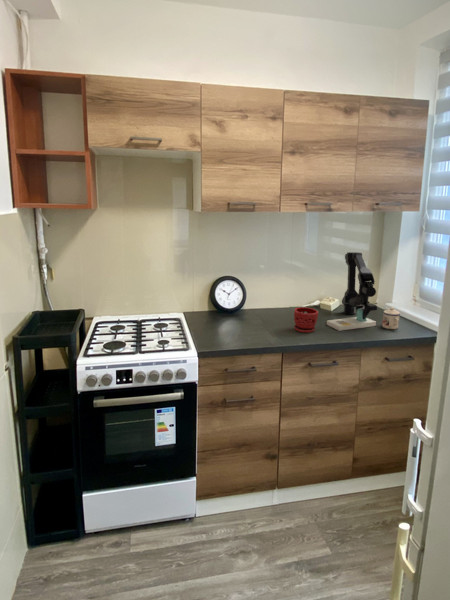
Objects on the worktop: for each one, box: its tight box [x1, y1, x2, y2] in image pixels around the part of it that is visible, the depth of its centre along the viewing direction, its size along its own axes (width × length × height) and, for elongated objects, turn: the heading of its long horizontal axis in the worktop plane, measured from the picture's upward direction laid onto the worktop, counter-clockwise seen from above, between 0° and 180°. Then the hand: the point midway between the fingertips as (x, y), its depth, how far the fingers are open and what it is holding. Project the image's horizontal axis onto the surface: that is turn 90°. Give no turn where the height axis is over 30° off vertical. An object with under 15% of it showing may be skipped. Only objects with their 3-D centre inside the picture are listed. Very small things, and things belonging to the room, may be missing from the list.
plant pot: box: [293, 306, 319, 334], centre depth 236 cm, size 13×13×12 cm
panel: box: [326, 316, 377, 332], centre depth 247 cm, size 12×26×3 cm, turn 111°
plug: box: [356, 307, 368, 322], centre depth 249 cm, size 4×4×10 cm
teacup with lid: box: [382, 307, 401, 330], centre depth 242 cm, size 12×9×12 cm
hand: (361, 318), depth 249 cm, fingers closed on plug, 4 cm apart
